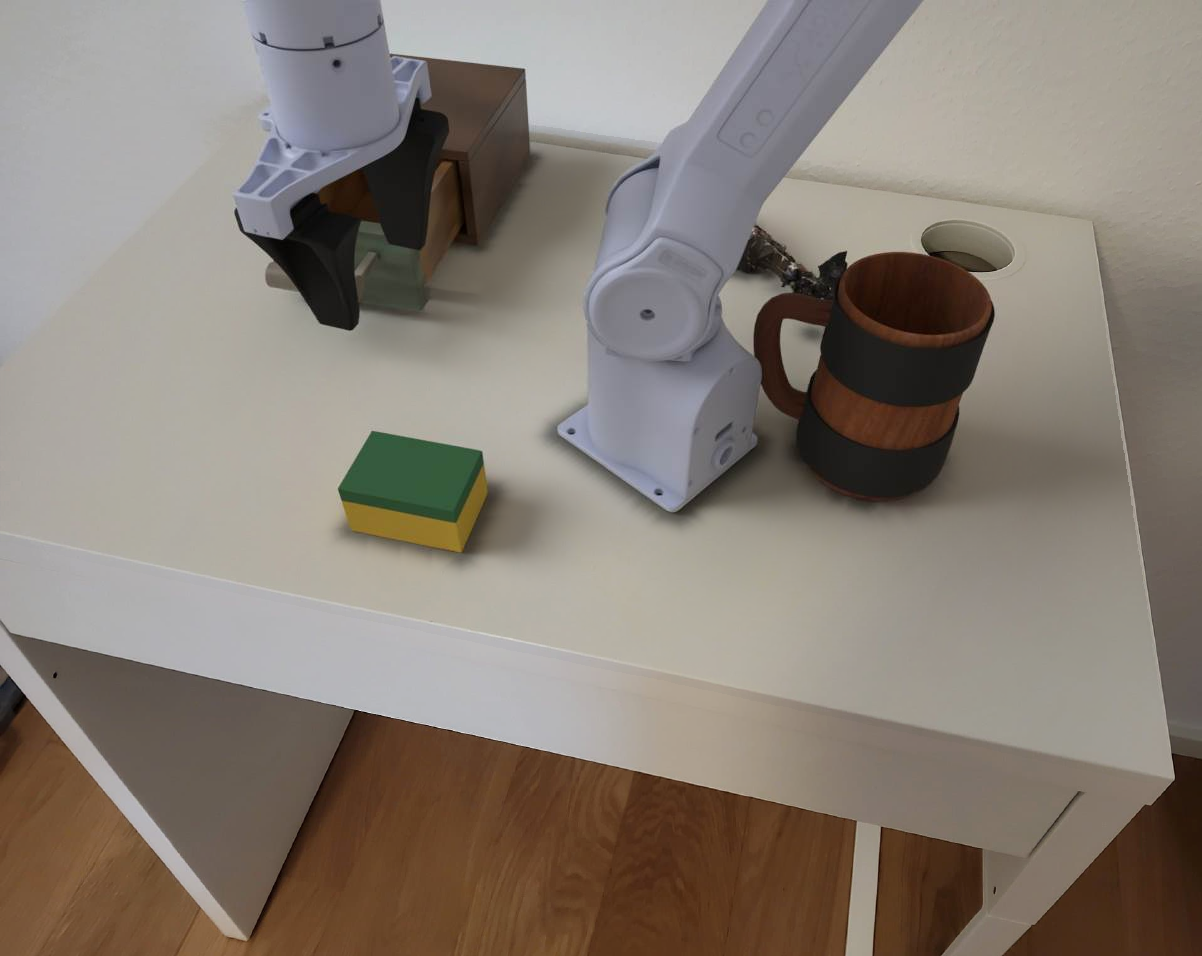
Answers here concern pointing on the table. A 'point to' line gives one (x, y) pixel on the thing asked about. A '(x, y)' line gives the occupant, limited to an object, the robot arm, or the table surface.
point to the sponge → (414, 491)
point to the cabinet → (481, 133)
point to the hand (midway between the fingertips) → (374, 282)
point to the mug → (880, 371)
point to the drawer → (377, 263)
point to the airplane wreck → (791, 266)
